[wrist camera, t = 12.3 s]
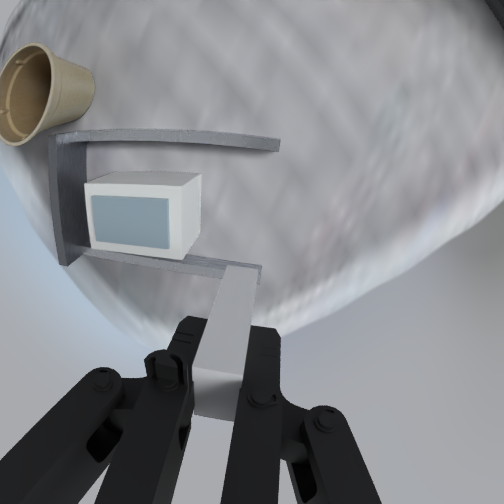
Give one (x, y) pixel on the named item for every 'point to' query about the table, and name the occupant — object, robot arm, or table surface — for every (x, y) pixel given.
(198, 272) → the rail
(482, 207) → the table surface
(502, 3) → the faucet
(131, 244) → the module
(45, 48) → the flower pot
